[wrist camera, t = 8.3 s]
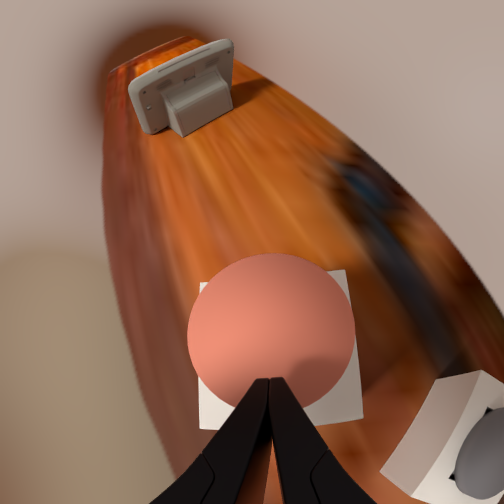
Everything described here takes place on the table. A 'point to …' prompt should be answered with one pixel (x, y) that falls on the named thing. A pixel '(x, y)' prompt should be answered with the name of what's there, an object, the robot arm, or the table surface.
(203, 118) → the digital clock
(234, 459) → the robot arm
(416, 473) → the socket
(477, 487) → the plug
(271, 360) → the red plug
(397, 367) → the table surface
